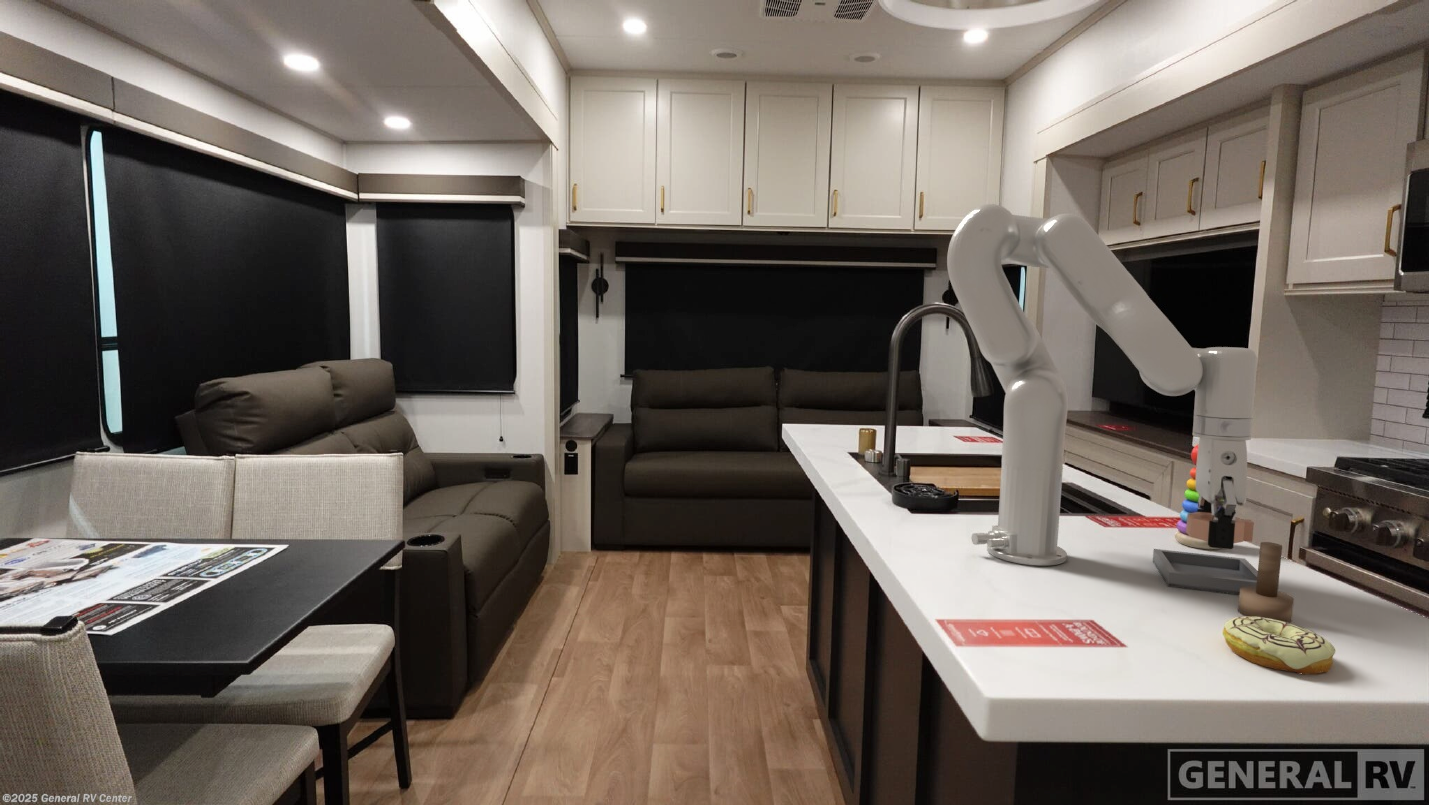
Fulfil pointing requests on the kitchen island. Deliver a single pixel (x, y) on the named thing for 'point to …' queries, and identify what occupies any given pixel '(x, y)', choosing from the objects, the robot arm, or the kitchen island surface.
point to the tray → (1204, 571)
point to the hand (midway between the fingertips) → (1213, 540)
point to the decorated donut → (1278, 645)
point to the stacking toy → (1190, 510)
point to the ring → (1200, 527)
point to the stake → (1267, 588)
